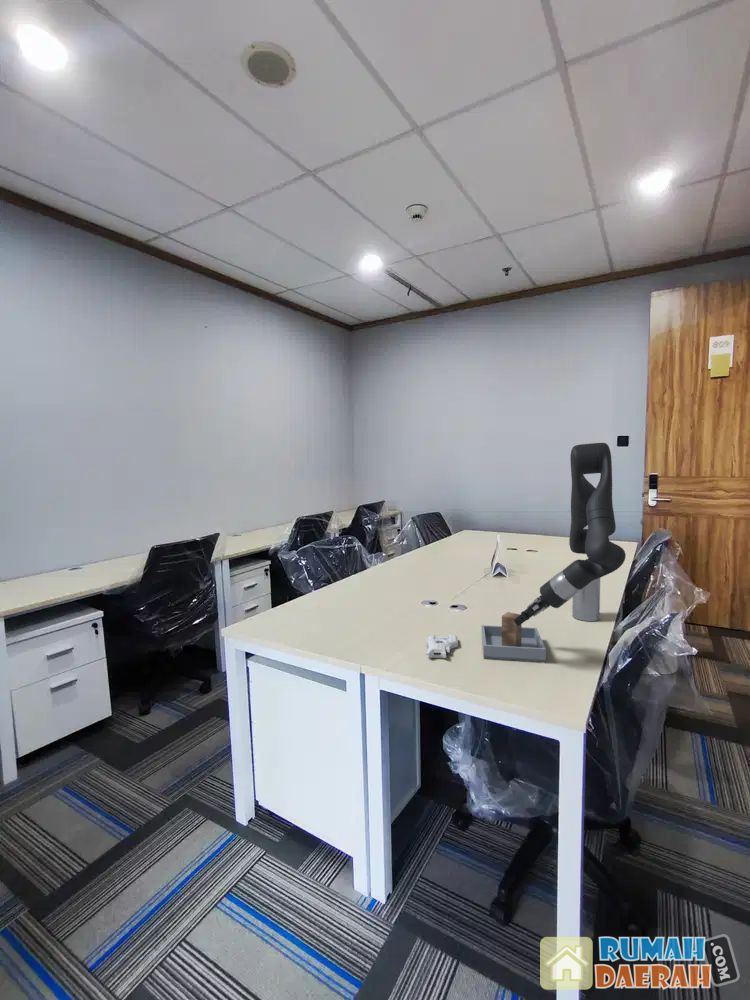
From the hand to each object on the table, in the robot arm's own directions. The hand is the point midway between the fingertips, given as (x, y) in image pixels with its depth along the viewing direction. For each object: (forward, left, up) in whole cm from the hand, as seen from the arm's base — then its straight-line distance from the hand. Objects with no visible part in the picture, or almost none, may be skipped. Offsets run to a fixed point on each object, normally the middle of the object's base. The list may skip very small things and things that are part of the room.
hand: (521, 619), depth 141 cm
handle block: (-1, -3, -9) cm, 10 cm away
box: (-1, -3, -10) cm, 11 cm away
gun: (+2, -24, -11) cm, 27 cm away
